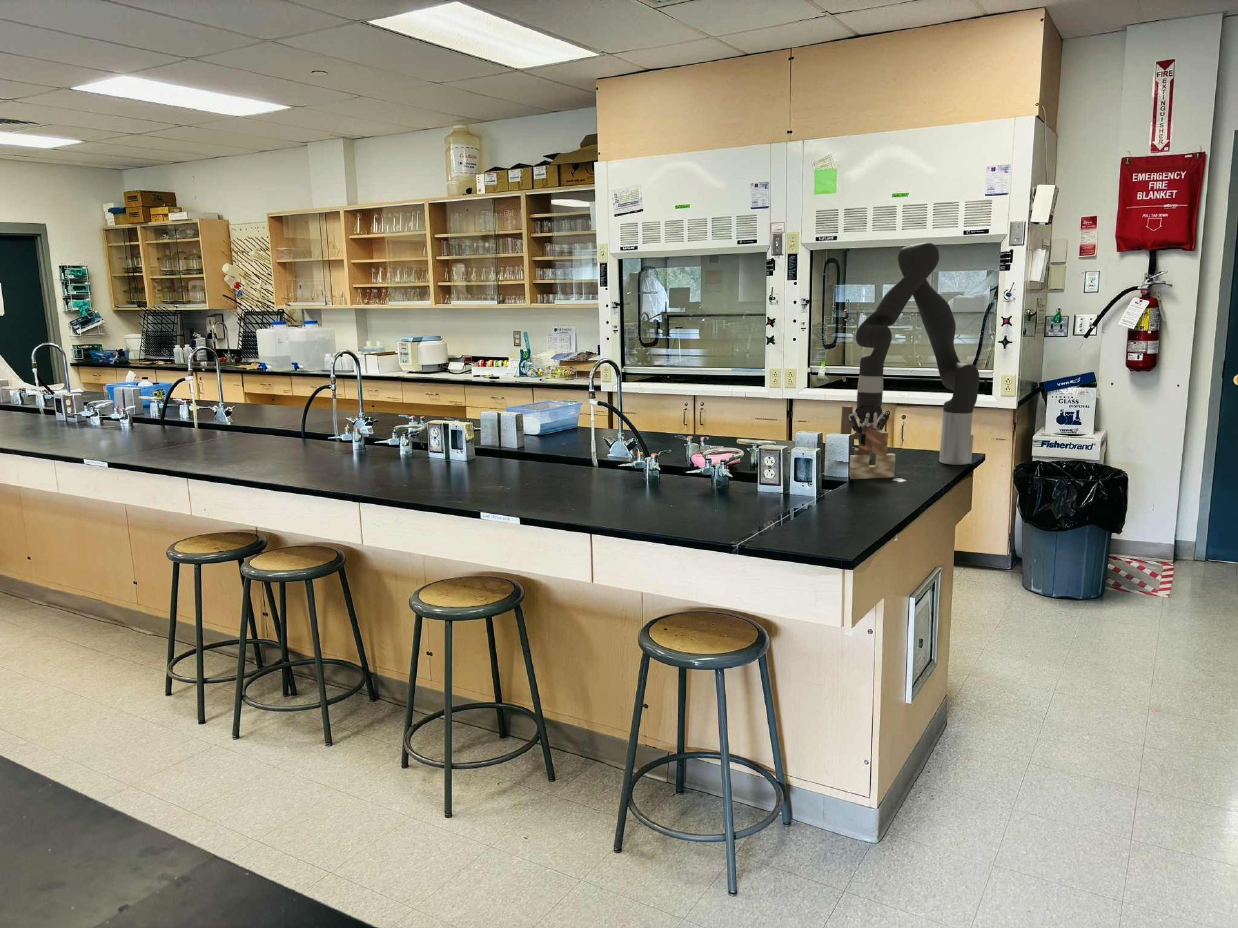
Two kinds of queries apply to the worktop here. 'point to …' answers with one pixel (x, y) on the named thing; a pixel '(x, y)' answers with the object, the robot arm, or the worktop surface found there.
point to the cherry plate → (876, 441)
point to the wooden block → (847, 429)
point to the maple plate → (871, 466)
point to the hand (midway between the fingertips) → (866, 445)
